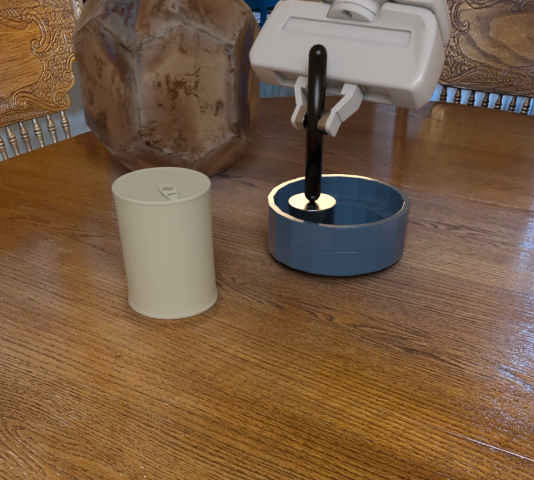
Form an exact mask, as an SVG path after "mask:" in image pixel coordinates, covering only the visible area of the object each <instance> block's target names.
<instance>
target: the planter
mask: <svg viewBox="0 0 534 480" xmlns="http://www.w3.org/2000/svg"><path fill="white" fill-rule="evenodd" d="M260 30H261V27H260V24H259V22H258V20H257V18H256V16H255V14H254V12H253V11H252V8H251V7H250V6H249V4H247V2H246V1H244V0H85V2H84V3H83V6H82V8H81V12H80V14H79V17H78V19H77V23H76V24H75V27H74V30H73V33H72V35H71V41H72V48H73V52H74V53H73V54H74V60H75V65H76V72H77V78H78V84H79V90H80V96H81V102H82V109H83V114H84V115H83V116H84V120H85V125H86V127H88V129H89V130H90V131H91V132H92V134H93V135H94V136H95V137H96V138H97V139H98V141H99V142H100V143H101V144H102V145H103V147H104V148H105V149H106V150H107V151H108V152H109V154H110V155H111V156H112V157H113V159H115V160H117V161H118V162H119V163H120V164H122V165H123V166H125V167H126V168H127V169H129V170H130V171H131V172H133V171H137V170H142V169H147V168H156V167H178V168H186V169H191V170H195V171H198V172H201V173H203V174H204V175H206V176H207V177H208V178H210V177H213V176H216V175H220V174H222V173H224V172H225V171H226V170H227V169H228V168H229V167H230V166H232V164H234V162H236V161H237V160H238V159H239V158H240V157H241V156H242V155H243V154H244V153H245V152H246V151H247V150H248V149H249V148H250V147H252V145H253V143H254V139H255V134H256V130H257V126H258V122H259V117H260V113H261V80H260V79H259V78H258V76H257V75H256V73H255V72H254V70H253V68H252V67H251V64H250V60H249V53H250V50H251V48H252V46H253V44H254V42H255V40H256V38H257V36H258V34H259V32H260Z"/></svg>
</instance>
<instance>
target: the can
mask: <svg viewBox="0 0 534 480" xmlns="http://www.w3.org/2000/svg"><path fill="white" fill-rule="evenodd" d="M211 188H212V182H211V179H210V177H207V176H206V175H204V174H203V173H201V172H198V171H195V170H191V169H186V168H178V167H156V168H147V169H142V170H137V171H133V172H132V171H131V172H127V173H125V174H122V175H121V176H119V177H118V178H116V179H115V180H114V182H113V183H112V185H111V192H112V196H113V200H114V206H115V212H116V219H117V224H118V231H119V238H120V244H121V245H120V246H121V251H122V258H123V263H124V264H123V265H124V269H125V270H124V271H125V278H126V279H125V280H126V286H127V303H128V305H129V307H130V308H131V309H132V310H133V311H134V312H135V313H137V314H138V315H141V316H143V317H146V318H151V319H156V320H182V319H188V318H191V317H195V316H197V315H200V314H203V313H205V312H206V311H208V310H209V309H211V308H212V307H214V305H215V304H216V302H217V300H218V298H219V291H218V288H217V281H216V269H215V268H216V267H215V254H214V253H215V252H214V237H213V236H214V235H213V217H212V216H213V215H212V195H211V194H212V191H211Z"/></svg>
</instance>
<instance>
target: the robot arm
mask: <svg viewBox="0 0 534 480" xmlns="http://www.w3.org/2000/svg"><path fill="white" fill-rule="evenodd" d="M451 36H452V21H451V15H450V9H449V6H448V2H447V0H279V1H277V3H276V4H275V6H274V8H273V10H272V11H271V12H270V14H269V16H268V17H267V19H266V20H265V22H264V24H263V25H262V26H261V28H260V32H259V34H258V36H257V38H256V40H255V42H254V44H253V46H252V48H251V50H250V53H249V60H250V64H251V67H252V68H253V70H254V72H255V73H256V75H257V76H258V78H259V79H260V83H263V84H265V85H272V86H277V87H283V88H288V89H293V90H294V97H295V99H294V100H295V105H296V106H295V108H294V110H293V113H292V115H291V118H290V123H291V125H292V127H293V129H294V130H298V131H303V132H306V120H307V88H308V57H309V50H310V48H311V47H312V46H313V45H315V44H322V45H323V46H324V47H325V48H326V50H327V75H326V95H328V96H335V97H340V98H341V99H340V100H339V101H338V102H336V103H335V105H334V106H333V107H332V108H331V109H330V110H328V109H325V110H323V112H322V114H321V119H319V121H318V124H317V128H318V130H319V131H320V133H321V134H323V135H324V136H328V137H332V138H335V137H336V136H337V134H338V131H339V129H340V127H341V124H342V123H344V122H346V120H347V119H349V118H350V117H351V116H352V115H353V114H354V113H356V112H357V111H358V110H359V108H360V106H361V104H362V102H368V103H373V104H374V103H375V104H380V105H386V106H392V107H398V108H401V109H402V108H403V109H409V110H414V111H417V110H420V109H422V108H423V107H424V106H426V105H427V104H428V103H429V102H430V101H431V100H432V98H433V96H434V93H435V91H436V89H437V87H438V84H439V81H440V77H441V75H442V72H443V68H444V65H445V60H446V52H445V46H446V45H447V43H448V42H449V40H450V38H451Z"/></svg>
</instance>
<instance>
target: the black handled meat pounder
mask: <svg viewBox="0 0 534 480" xmlns="http://www.w3.org/2000/svg"><path fill="white" fill-rule="evenodd" d="M326 75H327V50H326V48H325V47H324V46H323V45H322V44H315V45H313V46H312V47H311V48H310V50H309V57H308V88H307V120H306V131H305V151H304V152H305V154H304V157H305V159H304V177H305V184H304V193H301V194H297V195H294V196H292V197H291V198H290V199H289V201H288V215H290V216H292V217H294V218H296V219H300V220H304V221H308V222H312V223H318V224H328V225H335V213H336V200H335V199H334V198H333V197H331V196H329V195H326V194H322V193H321V181H322V175H323V159H324V158H323V157H324V136H325V135H323V134H321V133H320V131H319V130H318V128H317V124H318V121H319V119H321V114H322V112H323V110H326V96H327V94H326Z"/></svg>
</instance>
